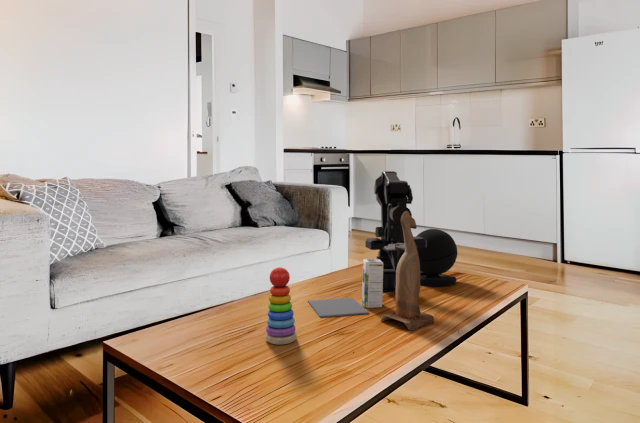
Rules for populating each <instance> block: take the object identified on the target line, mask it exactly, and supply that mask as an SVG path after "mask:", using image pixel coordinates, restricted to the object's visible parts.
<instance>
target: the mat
mask: <svg viewBox="0 0 640 423" xmlns="http://www.w3.org/2000/svg"><path fill="white" fill-rule="evenodd" d="M307 303H308V305H310V306H311V308H312V310H314V312H315V313H316V314H317V316H318V318H331V317H332V318H333V317H343V316H344V317H346V316H358V315H368V314H370V312H369V311H368V310H367V309H366V308H365V307H364V306H362V305H361V304H360V303H359V302H358V301H357V300H356V299H354V298H353V297H343V298H340V297H339V298H329V299H313V300H307Z"/></svg>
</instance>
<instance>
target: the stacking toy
mask: <svg viewBox="0 0 640 423" xmlns="http://www.w3.org/2000/svg"><path fill="white" fill-rule="evenodd" d="M290 276H291V275H290V273H289V271H288V270H287V269H286V268H284V267H280V266H279V267H275V268H274V269H272V271H271V272H270V274H269V281H270V283H271V285H272V286H271V287H270V288H269V292H270V293H269V294H270V296H269V298H268V301H269V303H268V305H267V306H268V312H267V316H268V318H267V319H266V324H267V326H266V327H265V332H266V333H265V341H267V342H268V343H270V344H272V345H287V344H288V345H289V344H291V343H293V342H295V341H296V340H297V332H296V326H295V323H296V322H295V318H294V315H295V314H294V310H293V309H292V307H293V303H292V302H291V300H292V296H291V294H290V291H291V288H290V287H289V286H288V284H289V282H290V279H291V277H290Z"/></svg>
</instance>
